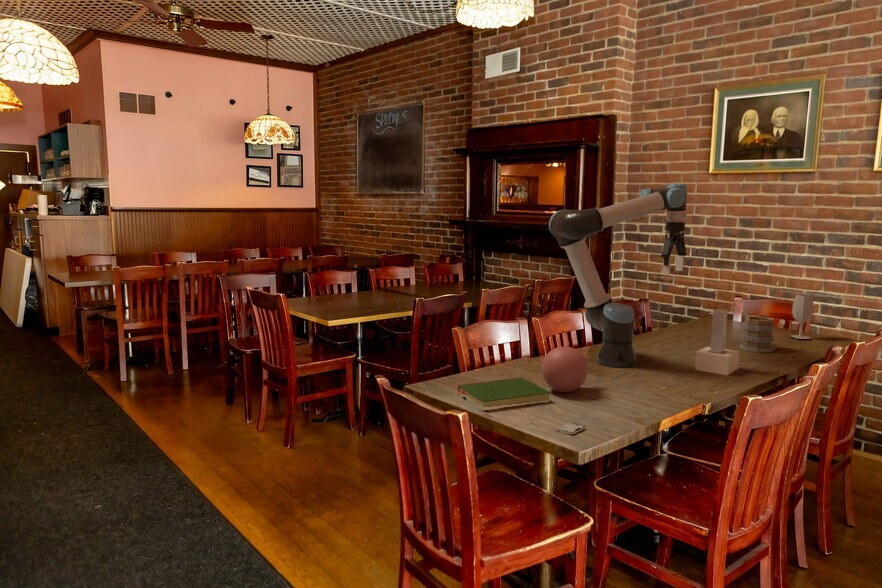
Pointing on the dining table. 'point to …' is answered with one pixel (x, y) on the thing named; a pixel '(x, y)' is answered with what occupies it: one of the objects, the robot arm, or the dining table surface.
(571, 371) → the matte pink sphere
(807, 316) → the wineglass
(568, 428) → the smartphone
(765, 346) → the tankard
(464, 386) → the hardcover book
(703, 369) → the well block
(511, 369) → the dining table surface
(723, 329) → the steel bar
